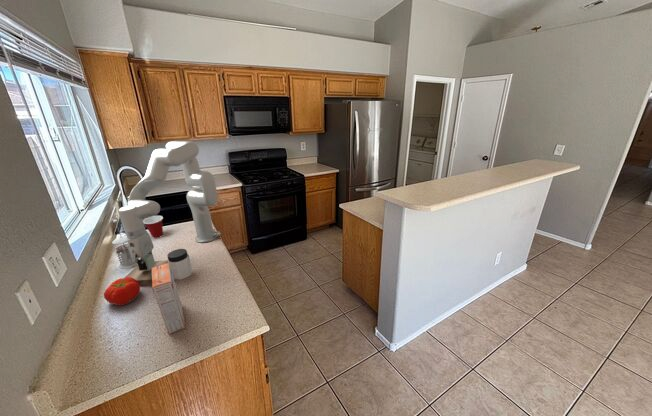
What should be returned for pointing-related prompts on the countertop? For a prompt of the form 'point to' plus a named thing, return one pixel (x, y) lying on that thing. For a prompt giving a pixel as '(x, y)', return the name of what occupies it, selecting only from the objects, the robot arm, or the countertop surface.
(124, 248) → the french press
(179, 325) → the cracker box
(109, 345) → the countertop surface
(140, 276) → the walnut base
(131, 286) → the tomato
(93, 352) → the countertop surface
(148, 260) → the sage block
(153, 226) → the plastic cup
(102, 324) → the countertop surface
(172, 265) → the jar
